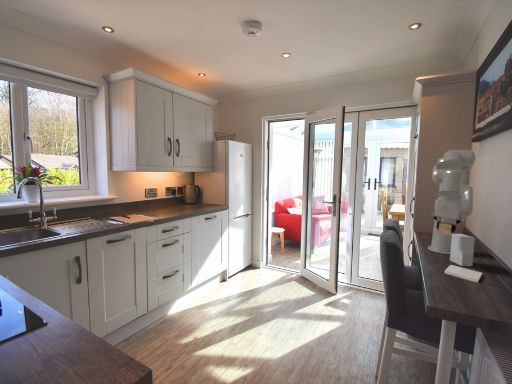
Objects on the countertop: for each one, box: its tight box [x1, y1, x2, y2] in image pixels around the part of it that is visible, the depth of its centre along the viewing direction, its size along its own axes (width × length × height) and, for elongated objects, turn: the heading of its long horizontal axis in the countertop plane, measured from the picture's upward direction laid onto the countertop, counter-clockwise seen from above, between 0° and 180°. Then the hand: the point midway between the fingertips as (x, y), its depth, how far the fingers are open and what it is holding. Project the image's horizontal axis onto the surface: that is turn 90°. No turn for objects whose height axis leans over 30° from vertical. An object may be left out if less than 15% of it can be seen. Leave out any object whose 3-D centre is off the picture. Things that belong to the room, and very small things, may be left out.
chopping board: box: [444, 264, 483, 284], centre depth 121 cm, size 12×12×1 cm
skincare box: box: [449, 233, 476, 267], centre depth 135 cm, size 8×6×15 cm
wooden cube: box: [438, 222, 454, 235], centre depth 132 cm, size 5×5×5 cm
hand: (445, 230), depth 132 cm, fingers closed on wooden cube, 5 cm apart
